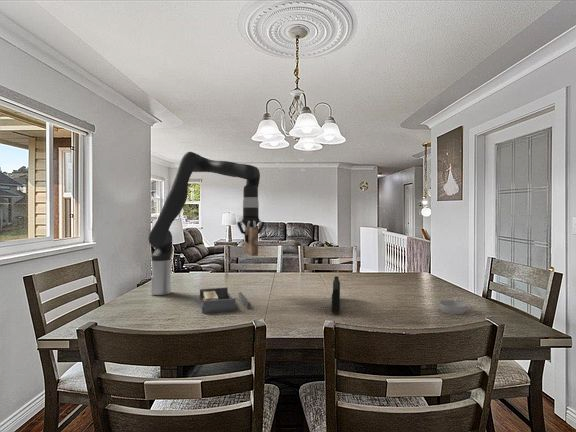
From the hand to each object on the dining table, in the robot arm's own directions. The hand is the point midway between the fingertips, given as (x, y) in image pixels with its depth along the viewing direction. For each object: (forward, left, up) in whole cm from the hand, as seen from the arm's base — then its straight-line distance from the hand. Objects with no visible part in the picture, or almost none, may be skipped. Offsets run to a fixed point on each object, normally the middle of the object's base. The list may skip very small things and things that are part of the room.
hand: (250, 242), depth 176 cm
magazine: (+33, -26, -27) cm, 50 cm away
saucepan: (+78, -47, -27) cm, 95 cm away
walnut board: (0, 0, -5) cm, 5 cm away
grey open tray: (-14, -8, -27) cm, 31 cm away
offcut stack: (-20, -8, -27) cm, 35 cm away
